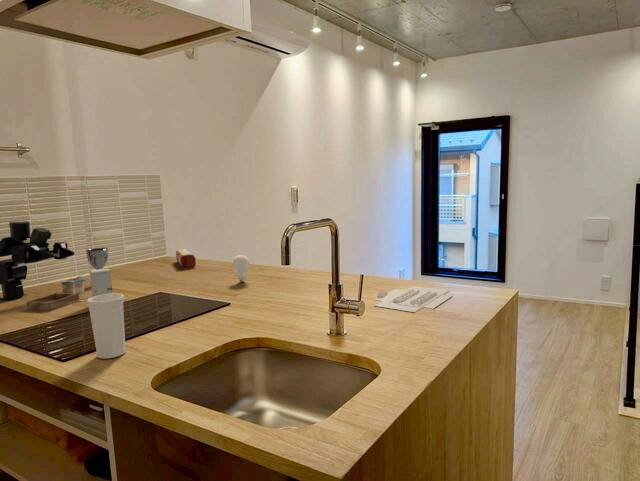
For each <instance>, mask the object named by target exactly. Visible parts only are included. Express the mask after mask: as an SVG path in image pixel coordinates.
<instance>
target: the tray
mask: <svg viewBox="0 0 640 481" xmlns="http://www.w3.org/2000/svg"><path fill="white" fill-rule="evenodd" d="M449 292H450V290H448V289H440V288H432V287H424V286H414V285H411V286H409V288H406V289H401V288H395V289H393V290H391V291H389V292H388V290H385V289H384V290H383V289H382V290H380V291H378V293H377V297H376V298H375V299H374V300H373V301H376V302H379V303H377V304H375V305H374V307H381V308H385V309H392V310H399V311H404V312H405V311H406V312H411V313H414V314H415V313H417V312H418V311H420V310H422V309H428V310H434V308H436V307H437V306H440V304H443V303H444V302H446V301H447V300H448V299H450V298H453V296H452V295H446V294H447V293H449Z"/></svg>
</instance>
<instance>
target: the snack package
mask: <svg viewBox="0 0 640 481" xmlns="http://www.w3.org/2000/svg"><path fill="white" fill-rule="evenodd" d="M175 258H176V261H177V262H178V263H179V265H180V266H181V268H182V269H184V270H188V269H194V268H195V267H196V266H197V259H196V258H197V257H196V256H195V255H194V254H193V253H192V252H191V251H189V250H188V249H187V248H186V249H185V248H183V249H177V250H176V251H175Z"/></svg>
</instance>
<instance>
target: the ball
mask: <svg viewBox="0 0 640 481" xmlns="http://www.w3.org/2000/svg"><path fill="white" fill-rule="evenodd" d="M76 279H83V281H85V279H86V278H85V276H83V275H77V277H76Z"/></svg>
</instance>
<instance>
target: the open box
mask: <svg viewBox="0 0 640 481" xmlns="http://www.w3.org/2000/svg"><path fill="white" fill-rule="evenodd" d="M78 300H80V295H79V294H75V293H63V292H54V293H51V294H48V295H47V294H46V295H45V296H41V297H38V298H36V299H35V298H34V299H31V300H29V301H26V309H27V310H31V311H48V312H49V311H50V312H51V311H55V310H58V309H60V308H63V307H65V306H69V305H72V304H73V303H77V302H79V301H78Z"/></svg>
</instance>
